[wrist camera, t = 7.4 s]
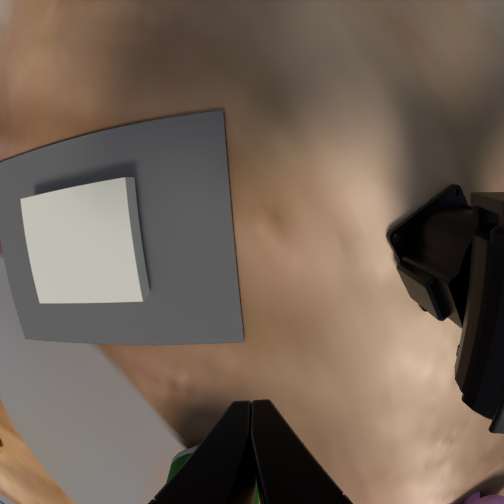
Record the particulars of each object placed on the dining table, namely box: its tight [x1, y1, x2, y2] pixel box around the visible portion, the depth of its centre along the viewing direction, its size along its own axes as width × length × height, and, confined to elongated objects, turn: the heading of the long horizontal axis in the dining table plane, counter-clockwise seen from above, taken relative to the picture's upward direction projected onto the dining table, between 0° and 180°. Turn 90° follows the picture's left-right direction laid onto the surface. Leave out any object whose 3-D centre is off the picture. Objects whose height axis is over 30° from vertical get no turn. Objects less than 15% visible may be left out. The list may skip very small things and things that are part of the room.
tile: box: [20, 177, 150, 303], centre depth 17 cm, size 2×7×8 cm
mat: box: [0, 110, 244, 345], centre depth 18 cm, size 18×14×1 cm
